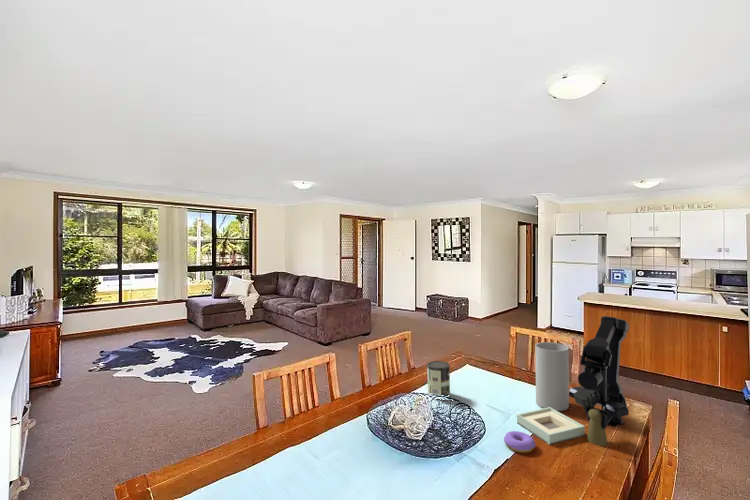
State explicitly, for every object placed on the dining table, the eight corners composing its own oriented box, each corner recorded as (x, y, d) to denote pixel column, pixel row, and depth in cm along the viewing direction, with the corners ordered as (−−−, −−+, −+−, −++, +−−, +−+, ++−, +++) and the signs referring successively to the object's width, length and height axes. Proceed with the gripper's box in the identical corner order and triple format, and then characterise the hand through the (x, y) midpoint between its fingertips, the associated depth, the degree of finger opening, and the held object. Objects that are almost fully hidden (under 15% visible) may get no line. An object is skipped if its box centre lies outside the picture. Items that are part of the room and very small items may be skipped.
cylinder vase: (570, 402, 158) (569, 344, 157) (567, 414, 147) (566, 352, 146) (538, 396, 164) (537, 340, 164) (533, 407, 154) (533, 348, 153)
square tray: (550, 415, 146) (549, 407, 146) (584, 435, 131) (584, 426, 131) (517, 423, 141) (517, 414, 141) (549, 444, 126) (549, 434, 126)
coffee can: (447, 390, 173) (447, 360, 173) (452, 399, 163) (451, 368, 163) (426, 390, 174) (425, 360, 173) (428, 399, 163) (428, 368, 163)
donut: (503, 451, 123) (503, 435, 124) (504, 442, 131) (504, 428, 132) (536, 456, 119) (535, 440, 120) (535, 447, 128) (534, 432, 128)
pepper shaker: (610, 446, 124) (610, 414, 124) (590, 445, 125) (590, 413, 125) (603, 437, 130) (603, 406, 130) (584, 435, 131) (584, 405, 131)
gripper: (557, 374, 133) (557, 417, 134) (604, 395, 116) (604, 444, 116) (580, 370, 137) (580, 412, 137) (629, 389, 119) (629, 437, 120)
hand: (597, 425), depth 128 cm, fingers closed on pepper shaker, 5 cm apart
